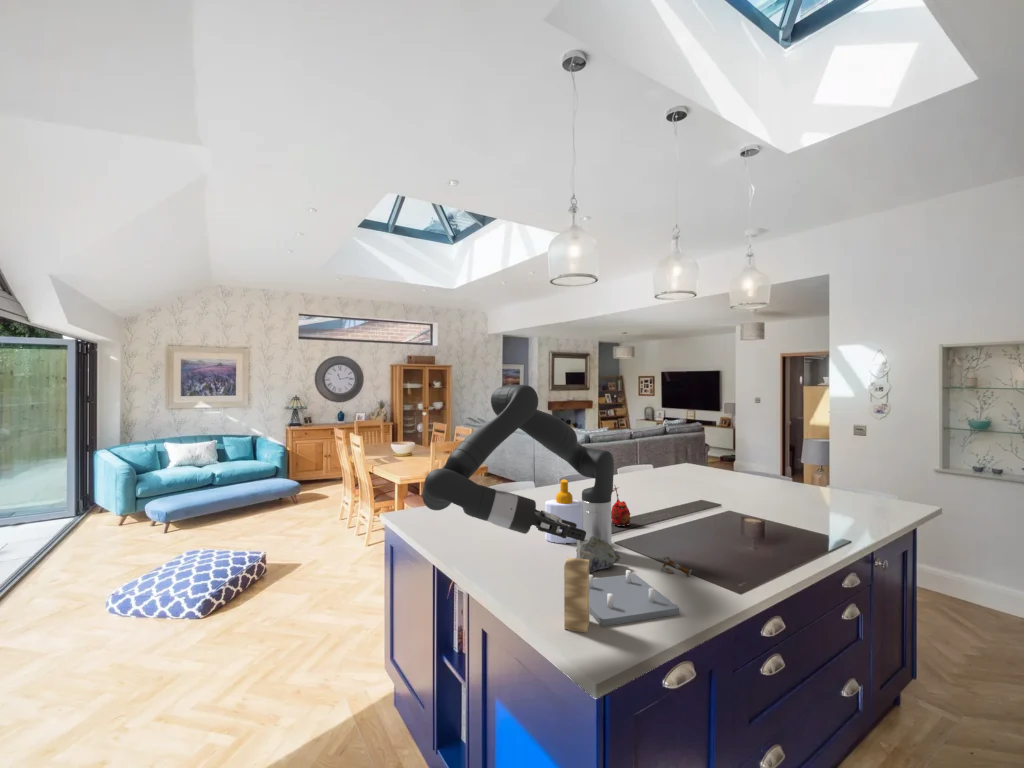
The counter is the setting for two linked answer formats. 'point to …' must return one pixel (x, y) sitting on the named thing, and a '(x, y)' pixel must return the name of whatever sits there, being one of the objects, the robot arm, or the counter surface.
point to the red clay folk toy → (620, 512)
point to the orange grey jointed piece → (675, 566)
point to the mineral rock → (597, 553)
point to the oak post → (576, 594)
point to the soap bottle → (564, 512)
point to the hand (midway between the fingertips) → (580, 532)
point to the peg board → (626, 600)
